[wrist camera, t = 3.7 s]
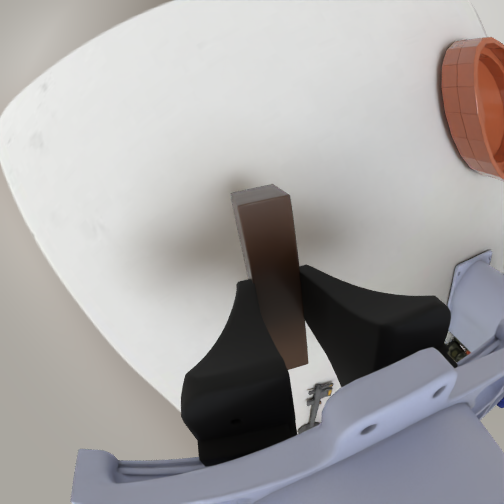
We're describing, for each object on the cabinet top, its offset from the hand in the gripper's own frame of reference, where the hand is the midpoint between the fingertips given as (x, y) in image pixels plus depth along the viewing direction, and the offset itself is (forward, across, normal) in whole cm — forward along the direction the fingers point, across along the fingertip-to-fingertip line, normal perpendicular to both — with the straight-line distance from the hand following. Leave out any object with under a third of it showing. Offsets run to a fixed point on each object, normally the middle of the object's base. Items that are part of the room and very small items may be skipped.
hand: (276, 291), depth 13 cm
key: (+7, -5, +24) cm, 25 cm away
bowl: (+7, -25, -9) cm, 28 cm away
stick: (+2, 0, 0) cm, 2 cm away
